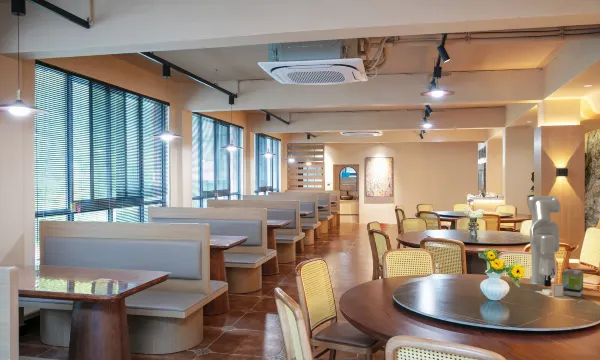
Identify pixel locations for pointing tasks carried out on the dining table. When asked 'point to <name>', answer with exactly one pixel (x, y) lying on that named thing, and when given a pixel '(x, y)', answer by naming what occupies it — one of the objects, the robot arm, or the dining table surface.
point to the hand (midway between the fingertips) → (547, 286)
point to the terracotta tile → (557, 290)
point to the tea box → (572, 282)
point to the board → (556, 297)
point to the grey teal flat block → (547, 291)
